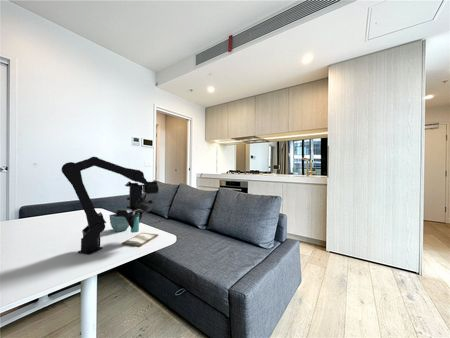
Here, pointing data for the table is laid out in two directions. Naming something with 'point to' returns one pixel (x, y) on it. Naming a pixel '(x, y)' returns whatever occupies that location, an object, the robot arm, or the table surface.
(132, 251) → the table surface
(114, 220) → the flower pot
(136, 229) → the teal capped bottle
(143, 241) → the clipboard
